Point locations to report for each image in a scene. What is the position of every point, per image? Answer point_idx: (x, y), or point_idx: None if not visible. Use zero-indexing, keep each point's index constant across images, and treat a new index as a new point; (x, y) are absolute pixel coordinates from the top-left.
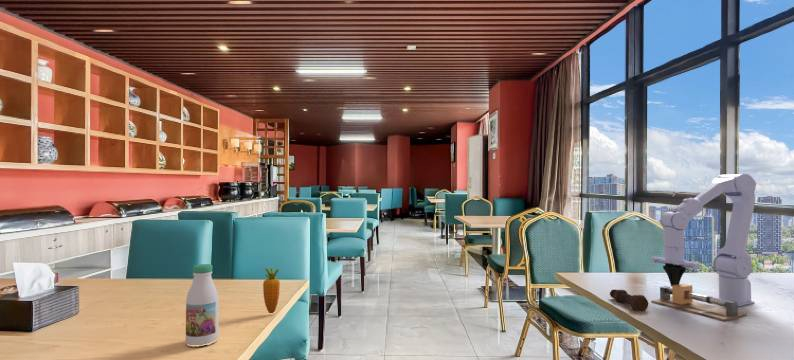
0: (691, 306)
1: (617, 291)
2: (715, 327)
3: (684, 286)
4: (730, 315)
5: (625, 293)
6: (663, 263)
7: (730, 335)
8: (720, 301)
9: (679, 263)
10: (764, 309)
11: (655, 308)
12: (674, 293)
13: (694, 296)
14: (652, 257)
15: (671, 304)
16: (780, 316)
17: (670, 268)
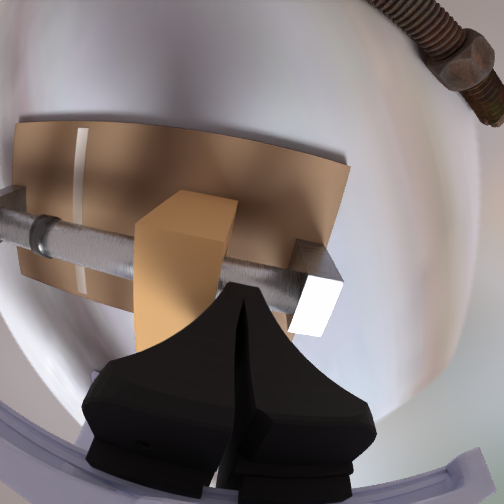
0: (146, 214)
1: (481, 36)
2: (31, 24)
3: (138, 274)
4: (14, 186)
5: (445, 20)
6: (373, 488)
7: (9, 7)
8: (4, 214)
9: (26, 466)
10: (61, 374)
11: (278, 45)
12: (216, 214)
13: (102, 235)
14: (491, 489)
15: (232, 163)
16: (14, 328)
17: (225, 401)
